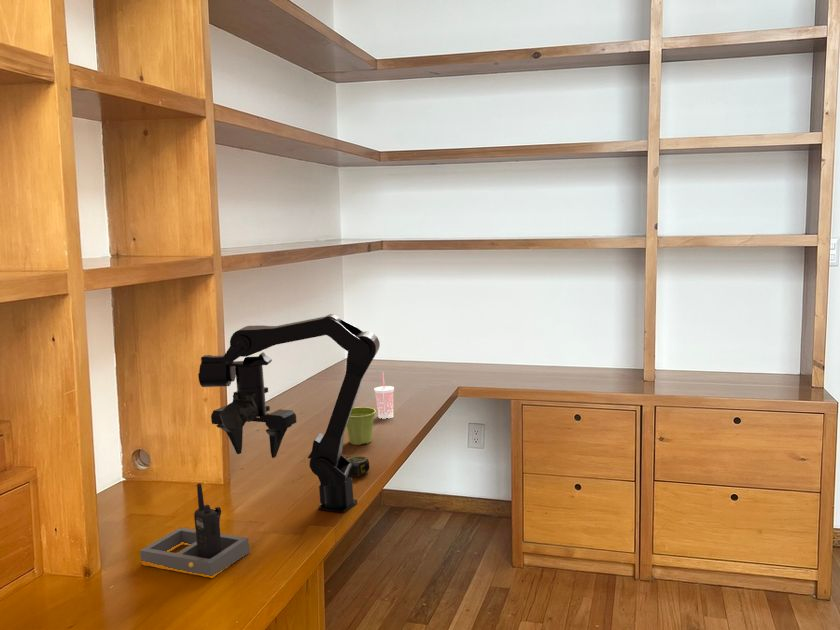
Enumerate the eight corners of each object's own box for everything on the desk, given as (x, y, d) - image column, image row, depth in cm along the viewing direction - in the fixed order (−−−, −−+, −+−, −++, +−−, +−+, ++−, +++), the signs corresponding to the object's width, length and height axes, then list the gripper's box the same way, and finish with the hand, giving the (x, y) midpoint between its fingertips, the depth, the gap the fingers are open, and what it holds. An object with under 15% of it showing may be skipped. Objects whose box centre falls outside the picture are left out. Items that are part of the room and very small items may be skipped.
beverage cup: (396, 413, 243) (394, 369, 242) (394, 419, 237) (391, 374, 236) (377, 414, 244) (374, 370, 242) (374, 419, 238) (371, 374, 236)
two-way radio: (195, 560, 147) (187, 483, 144) (216, 552, 150) (209, 476, 147) (210, 568, 143) (202, 490, 140) (231, 560, 146) (224, 483, 144)
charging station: (249, 553, 149) (248, 538, 149) (210, 580, 139) (208, 564, 138) (181, 541, 156) (180, 527, 156) (139, 566, 146) (137, 551, 145)
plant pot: (382, 437, 219) (380, 407, 218) (371, 447, 210) (369, 416, 209) (351, 436, 222) (349, 406, 221) (338, 446, 213) (336, 415, 212)
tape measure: (336, 475, 190) (334, 461, 190) (355, 467, 195) (354, 453, 195) (356, 481, 186) (354, 466, 185) (375, 472, 191) (374, 457, 190)
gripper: (190, 392, 164) (197, 463, 166) (264, 396, 156) (270, 471, 159) (224, 380, 174) (230, 447, 176) (295, 384, 166) (300, 454, 169)
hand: (256, 455), depth 170 cm, fingers open, 9 cm apart
